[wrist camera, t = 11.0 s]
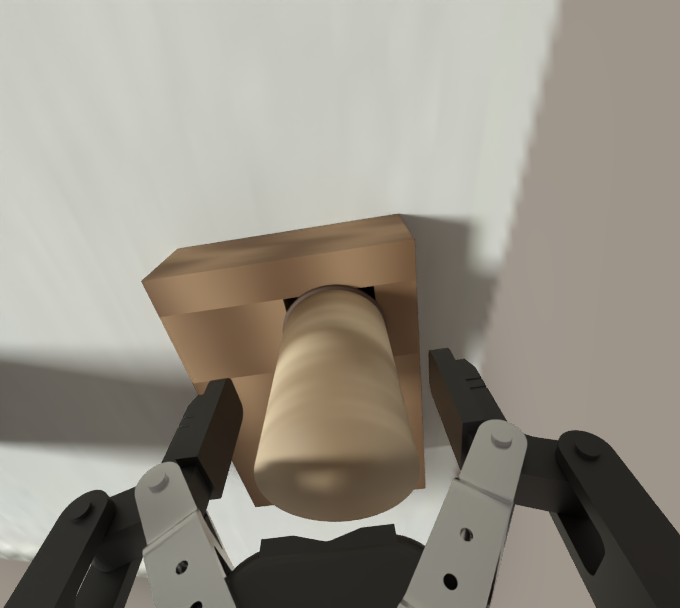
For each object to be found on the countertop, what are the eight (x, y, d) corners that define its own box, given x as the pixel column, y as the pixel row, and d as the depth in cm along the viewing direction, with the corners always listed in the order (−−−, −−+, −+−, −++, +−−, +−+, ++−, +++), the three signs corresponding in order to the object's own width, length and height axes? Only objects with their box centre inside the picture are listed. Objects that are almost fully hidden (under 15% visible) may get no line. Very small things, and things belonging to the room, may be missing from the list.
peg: (301, 336, 21) (274, 530, 11) (281, 262, 18) (226, 430, 9) (381, 325, 20) (426, 514, 11) (373, 248, 18) (421, 405, 8)
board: (265, 456, 27) (255, 506, 24) (177, 248, 18) (141, 281, 15) (413, 438, 26) (425, 488, 23) (398, 213, 17) (414, 239, 14)
